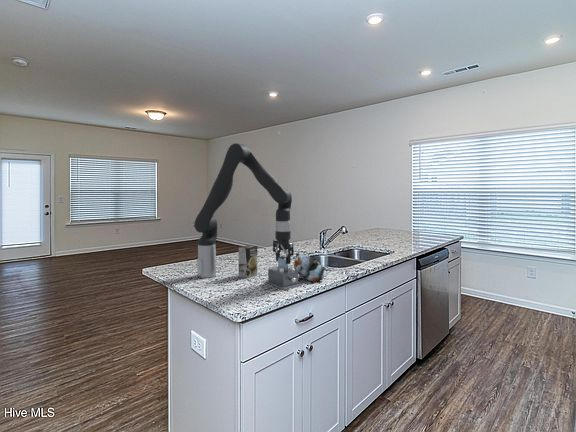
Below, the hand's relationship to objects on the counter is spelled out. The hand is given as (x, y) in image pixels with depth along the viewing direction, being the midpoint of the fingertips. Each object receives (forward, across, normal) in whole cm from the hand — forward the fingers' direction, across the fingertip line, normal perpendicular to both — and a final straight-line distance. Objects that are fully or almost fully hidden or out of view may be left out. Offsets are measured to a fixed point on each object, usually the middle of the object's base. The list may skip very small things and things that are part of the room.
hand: (282, 262), depth 161 cm
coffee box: (+11, +24, +6) cm, 27 cm away
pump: (+4, 0, 0) cm, 4 cm away
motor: (+11, 0, 0) cm, 11 cm away
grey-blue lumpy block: (+11, -1, -16) cm, 20 cm away
